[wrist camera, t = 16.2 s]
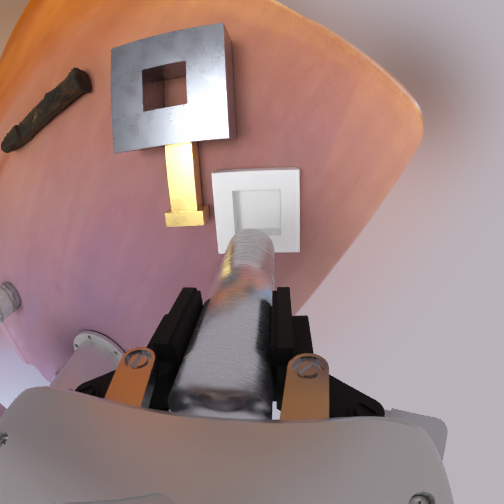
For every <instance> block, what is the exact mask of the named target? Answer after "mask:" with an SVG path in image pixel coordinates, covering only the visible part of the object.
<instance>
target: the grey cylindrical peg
mask: <svg viewBox="0 0 504 504" xmlns="http://www.w3.org/2000/svg"><path fill="white" fill-rule="evenodd" d="M272 291H275V249H274V244H273V242H272V240H271V239H270V237H269V236H268V235H267V234H266V233H264V232H262V231H260V230H257V229H244V230H241V231H239V232H237V233H236V234H235V235H234V236H233V237H232V238H231V240H230V242H229V244H228V247H227V249H226V252H225V254H224V256H223V259H222V261H221V264H220V266H219V269H218V271H217V273H216V276H215V278H214V281H213V283H212V286H211V288H210V291H209V293H208V296H207V298H206V301H205V303H204V306H203V308H202V311H201V313H200V316H199V318H198V321H197V323H196V326H195V328H194V331H193V334H192V336H191V339H190V341H189V344H188V347H187V349H186V352H185V354H184V357H183V360H182V362H181V365H180V367H179V370H178V373H177V375H176V378H175V381H174V383H173V386H172V389H171V391H170V394H169V397H168V406H169V409H170V410H171V412H175V413H182V414H190V415H198V416H208V417H220V418H234V419H257V420H272V400H273V374H272V371H271V323H272Z"/></svg>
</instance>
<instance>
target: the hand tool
mask: <svg viewBox="0 0 504 504" xmlns="http://www.w3.org/2000/svg"><path fill="white" fill-rule="evenodd" d="M91 90H92V87H91V84H90V80H89V77H88V75H87V74H86V73H85V72H84V71H83V70H80V69H78V68H73V69H72V70H71V72H70V73H69V74H68V76H67V77H66V79H65V80H63V81H62V82H61V83H60V84H59V85H58V86H57V87H56V88H55V89H53V90H52V91H50V92H48V93H46V94H45V96H44V99H43V100H42V101H41V102H40V103H39V104H38V105H37V106H36V107H35V108H34V109H33V110H32V111H31V112H30V113H29V114H28V115H27V116H26V117H25V119H24V120H23V121H22V122H21V123H20V124H19V125H15V126H14V127H13V128H12V129H11V130H10V132H9V133H7V135H6V137H5V138H4V140H3V142H2V144H1V150H2V151H4V152H5V153H9V152H11V151H14V150H16V149H18V148H20V147H22V146H24V145H25V144H26V143H27V142H29V141H30V140H32V139H33V137H34V134H35V133H36V132H37V131H38V130H39V129H40V128H42V127H43V126H44V125H45V124H46V123H48V122H49V121H50V119H51V118H53V117H54V116H55V115H56V114H58V113H59V112H60V111H61V110H63V109H64V108H66V106H67V105H68V104H70V103H71V102H72V101H73V100H74V99H76V98H77V97H78V96H79V95H81V94H82V93H85V92H88V93H89V92H90V91H91Z"/></svg>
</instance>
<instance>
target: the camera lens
mask: <svg viewBox="0 0 504 504" xmlns="http://www.w3.org/2000/svg"><path fill="white" fill-rule="evenodd" d="M19 305H20V297H19V295H18V292H17V291H16V289H15V288H14V286H13V285H12V284H10V283H8V282H7V283H4V284H2V285H0V324H1V323H2V322H3V321H4V320H5V319H6V318H7V317H8V316H10V315H11V314H12V313H13V312H14V311H15V310H16V309H17V308H18V306H19Z"/></svg>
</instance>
